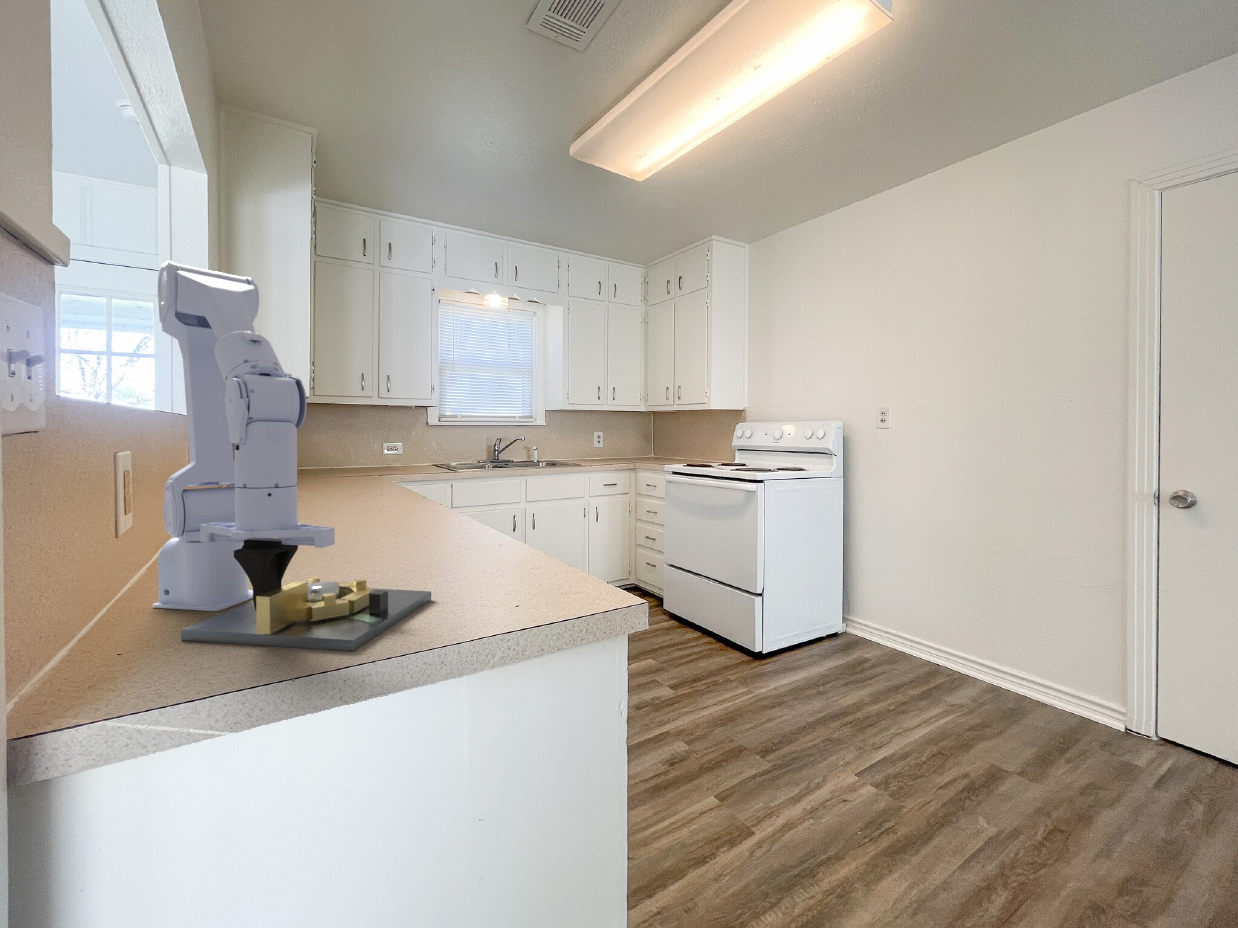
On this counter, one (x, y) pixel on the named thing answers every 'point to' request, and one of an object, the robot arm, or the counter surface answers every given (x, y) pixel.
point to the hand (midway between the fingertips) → (268, 608)
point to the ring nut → (307, 604)
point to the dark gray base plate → (313, 622)
